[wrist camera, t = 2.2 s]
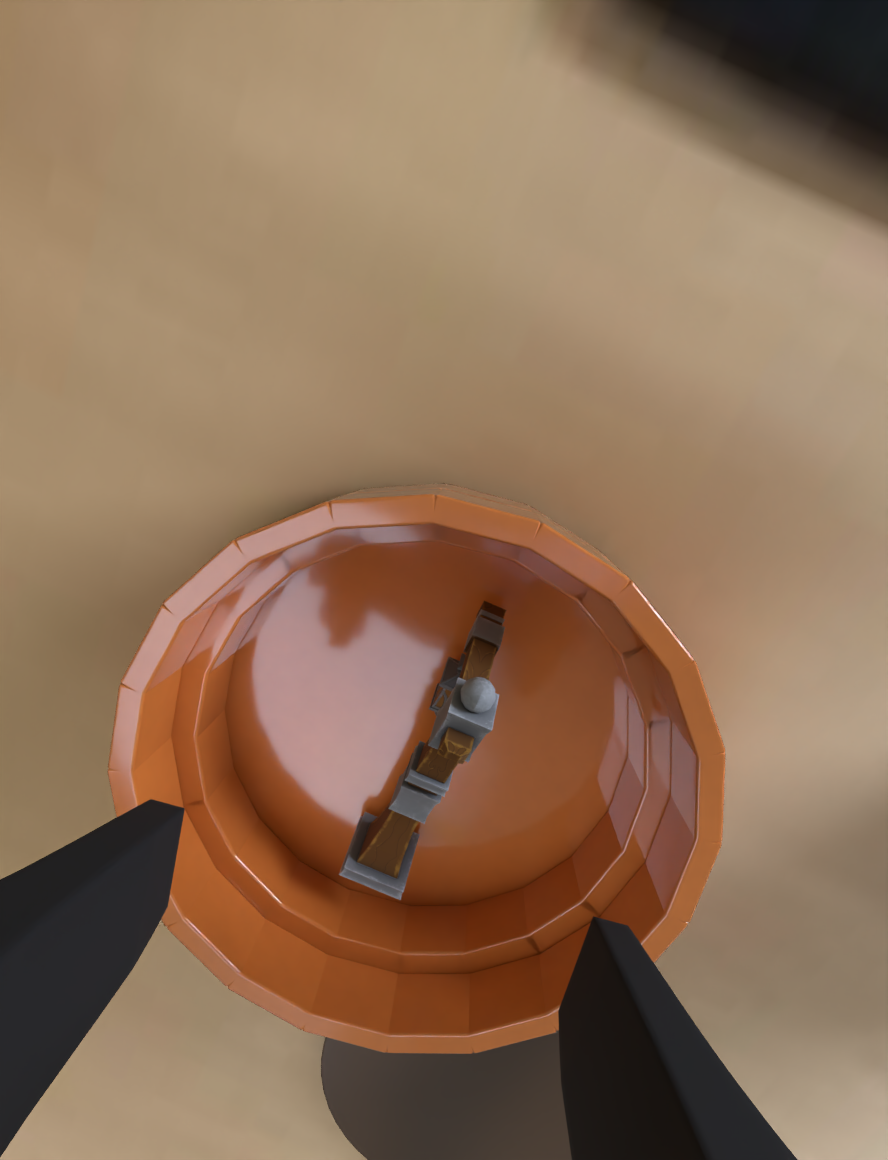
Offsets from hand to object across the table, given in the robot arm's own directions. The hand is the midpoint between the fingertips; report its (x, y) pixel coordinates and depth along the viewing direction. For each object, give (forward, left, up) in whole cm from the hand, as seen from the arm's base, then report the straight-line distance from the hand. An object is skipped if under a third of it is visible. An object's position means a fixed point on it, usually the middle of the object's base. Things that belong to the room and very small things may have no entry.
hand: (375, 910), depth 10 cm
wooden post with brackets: (0, 0, -7) cm, 7 cm away
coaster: (-5, +11, -7) cm, 14 cm away
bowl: (0, 0, -7) cm, 7 cm away
